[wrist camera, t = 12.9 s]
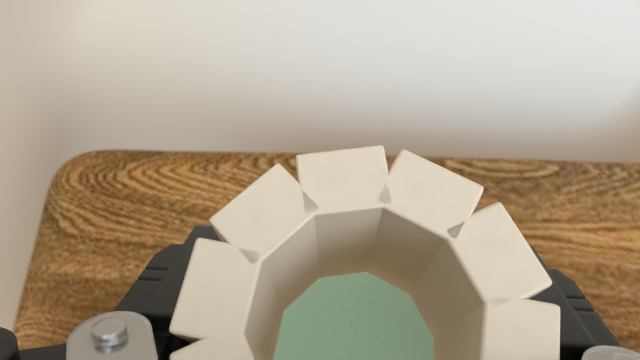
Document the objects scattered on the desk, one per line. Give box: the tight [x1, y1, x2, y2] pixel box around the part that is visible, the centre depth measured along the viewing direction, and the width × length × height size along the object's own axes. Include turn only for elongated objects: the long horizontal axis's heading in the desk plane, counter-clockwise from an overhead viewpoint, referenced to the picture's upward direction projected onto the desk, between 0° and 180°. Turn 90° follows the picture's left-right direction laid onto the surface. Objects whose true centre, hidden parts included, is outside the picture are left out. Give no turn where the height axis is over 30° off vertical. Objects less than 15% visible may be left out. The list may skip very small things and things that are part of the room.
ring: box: [169, 145, 560, 360], centre depth 10 cm, size 6×6×4 cm
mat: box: [273, 272, 434, 360], centre depth 29 cm, size 10×10×1 cm
